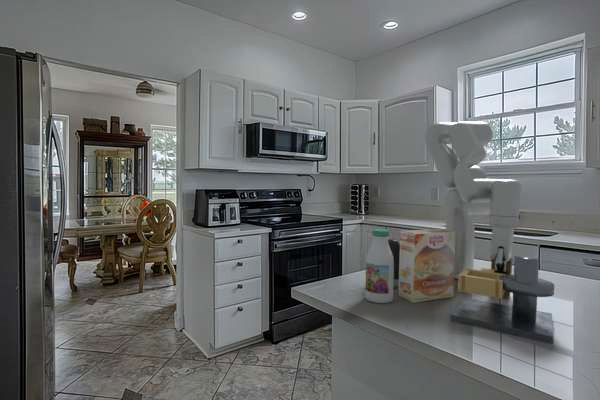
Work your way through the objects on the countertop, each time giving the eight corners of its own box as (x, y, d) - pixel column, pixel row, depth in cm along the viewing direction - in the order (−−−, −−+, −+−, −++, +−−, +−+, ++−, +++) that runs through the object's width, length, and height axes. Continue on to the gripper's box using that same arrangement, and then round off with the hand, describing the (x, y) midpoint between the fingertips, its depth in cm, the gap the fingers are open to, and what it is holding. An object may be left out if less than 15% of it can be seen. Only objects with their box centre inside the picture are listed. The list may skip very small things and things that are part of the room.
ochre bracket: (458, 291, 86) (458, 275, 85) (468, 278, 97) (469, 264, 97) (502, 298, 80) (502, 281, 80) (507, 284, 92) (508, 269, 92)
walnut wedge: (489, 294, 103) (491, 258, 102) (491, 291, 106) (493, 255, 105) (508, 298, 100) (511, 260, 99) (510, 294, 103) (512, 258, 102)
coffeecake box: (413, 303, 95) (415, 233, 94) (397, 295, 102) (398, 230, 101) (454, 297, 101) (456, 231, 100) (436, 290, 107) (438, 228, 106)
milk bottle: (375, 293, 104) (376, 227, 103) (398, 299, 98) (399, 230, 97) (359, 299, 98) (361, 229, 97) (383, 306, 93) (385, 232, 92)
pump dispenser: (396, 292, 104) (397, 243, 103) (368, 284, 112) (369, 238, 111) (414, 286, 111) (415, 239, 110) (386, 279, 119) (388, 235, 118)
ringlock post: (450, 320, 83) (452, 255, 82) (463, 302, 96) (465, 245, 96) (552, 343, 72) (556, 268, 71) (551, 319, 85) (554, 255, 84)
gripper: (492, 218, 110) (490, 274, 111) (485, 223, 97) (482, 287, 98) (520, 219, 106) (517, 278, 107) (516, 225, 92) (513, 292, 93)
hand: (500, 281), depth 102 cm, fingers closed on walnut wedge, 4 cm apart
